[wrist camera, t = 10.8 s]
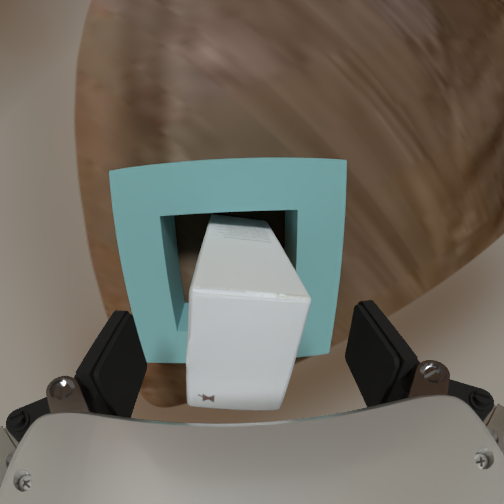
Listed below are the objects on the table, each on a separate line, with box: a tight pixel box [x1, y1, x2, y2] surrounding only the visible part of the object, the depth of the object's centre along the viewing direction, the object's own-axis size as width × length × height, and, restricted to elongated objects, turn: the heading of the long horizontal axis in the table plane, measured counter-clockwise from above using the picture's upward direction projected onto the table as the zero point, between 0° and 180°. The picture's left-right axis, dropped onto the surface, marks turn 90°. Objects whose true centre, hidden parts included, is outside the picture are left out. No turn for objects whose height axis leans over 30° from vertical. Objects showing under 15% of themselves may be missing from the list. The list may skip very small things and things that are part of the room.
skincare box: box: [186, 214, 311, 411], centre depth 15 cm, size 6×4×12 cm
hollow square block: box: [109, 158, 347, 363], centre depth 19 cm, size 14×14×4 cm
